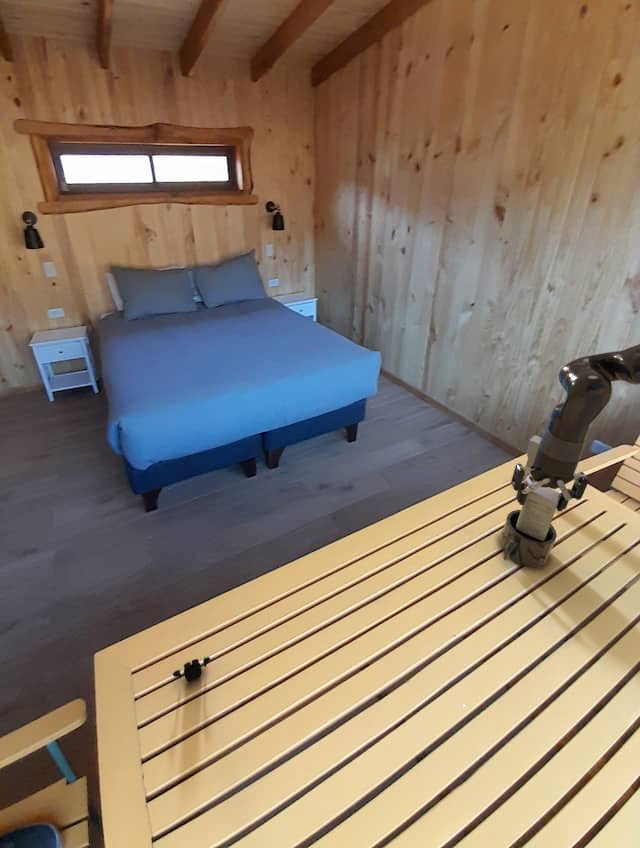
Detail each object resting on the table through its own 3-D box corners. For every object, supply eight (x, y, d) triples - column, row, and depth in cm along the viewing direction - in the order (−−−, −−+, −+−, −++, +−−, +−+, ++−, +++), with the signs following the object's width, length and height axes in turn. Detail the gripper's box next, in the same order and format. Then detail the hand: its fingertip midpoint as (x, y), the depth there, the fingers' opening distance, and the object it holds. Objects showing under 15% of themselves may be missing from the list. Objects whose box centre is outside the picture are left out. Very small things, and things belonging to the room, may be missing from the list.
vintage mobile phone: (520, 479, 122) (543, 410, 111) (538, 488, 119) (563, 418, 107) (515, 485, 120) (537, 415, 109) (532, 494, 116) (558, 423, 105)
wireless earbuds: (210, 664, 78) (208, 649, 76) (214, 677, 76) (211, 662, 74) (174, 680, 76) (171, 665, 74) (177, 694, 74) (173, 680, 72)
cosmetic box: (547, 531, 96) (563, 493, 91) (543, 542, 94) (559, 504, 88) (518, 517, 100) (531, 480, 95) (513, 528, 98) (526, 490, 92)
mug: (515, 526, 106) (522, 503, 103) (555, 554, 98) (565, 532, 95) (483, 548, 100) (489, 526, 97) (523, 581, 92) (532, 558, 89)
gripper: (528, 455, 84) (509, 512, 92) (606, 465, 81) (580, 523, 89) (518, 434, 91) (502, 489, 98) (590, 443, 88) (568, 499, 95)
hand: (539, 505), depth 93 cm, fingers closed on cosmetic box, 7 cm apart
